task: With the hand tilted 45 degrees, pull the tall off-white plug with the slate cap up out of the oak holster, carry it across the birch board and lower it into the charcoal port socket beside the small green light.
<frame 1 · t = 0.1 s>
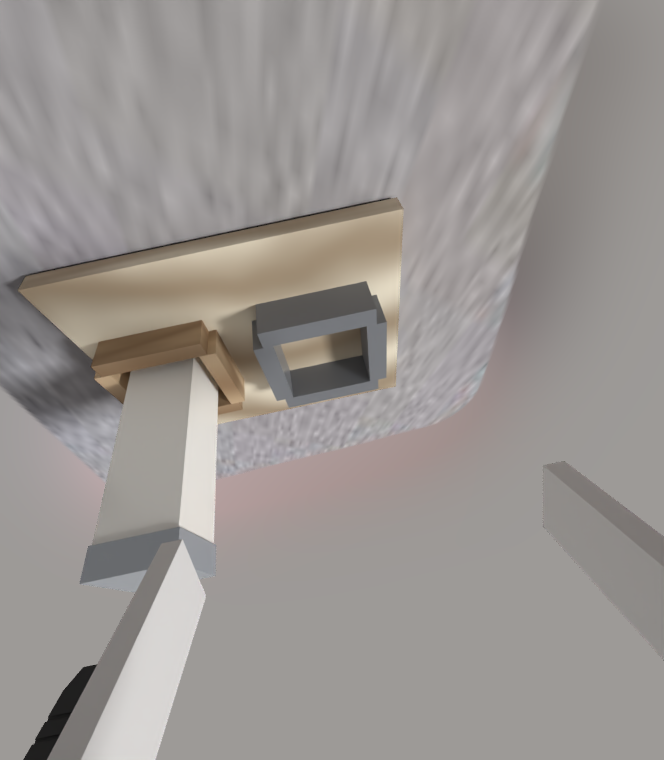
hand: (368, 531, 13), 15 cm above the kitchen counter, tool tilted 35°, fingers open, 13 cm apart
board: (256, 338, 25), on the kitchen counter
plug: (179, 367, 24), point 1 cm above the kitchen counter, touching board
port: (318, 325, 25), resting on board
holster: (180, 354, 25), resting on board
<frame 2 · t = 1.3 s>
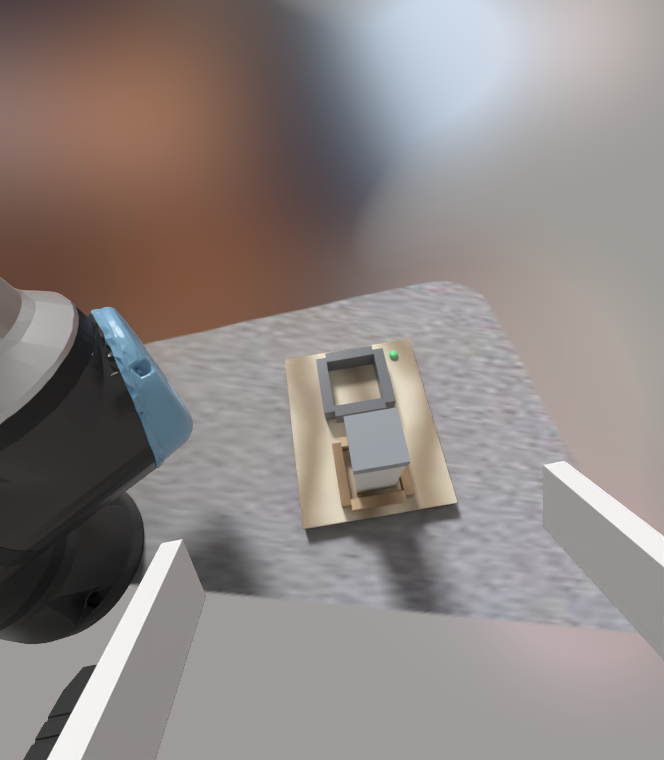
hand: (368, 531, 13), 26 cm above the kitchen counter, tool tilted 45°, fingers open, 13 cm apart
board: (361, 426, 41), on the kitchen counter
plug: (371, 471, 38), point 1 cm above the kitchen counter, touching board
port: (354, 392, 43), resting on board
holster: (371, 473, 39), resting on board
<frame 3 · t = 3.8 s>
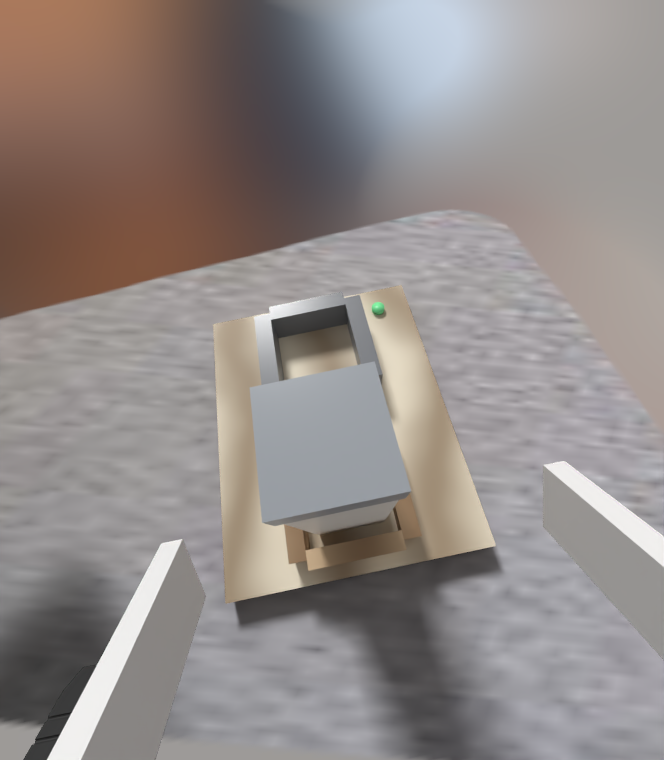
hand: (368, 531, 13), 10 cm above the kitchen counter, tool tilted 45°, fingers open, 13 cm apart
board: (330, 421, 26), on the kitchen counter
plug: (345, 495, 22), point 1 cm above the kitchen counter, touching board
port: (320, 368, 28), resting on board
holster: (346, 497, 23), resting on board
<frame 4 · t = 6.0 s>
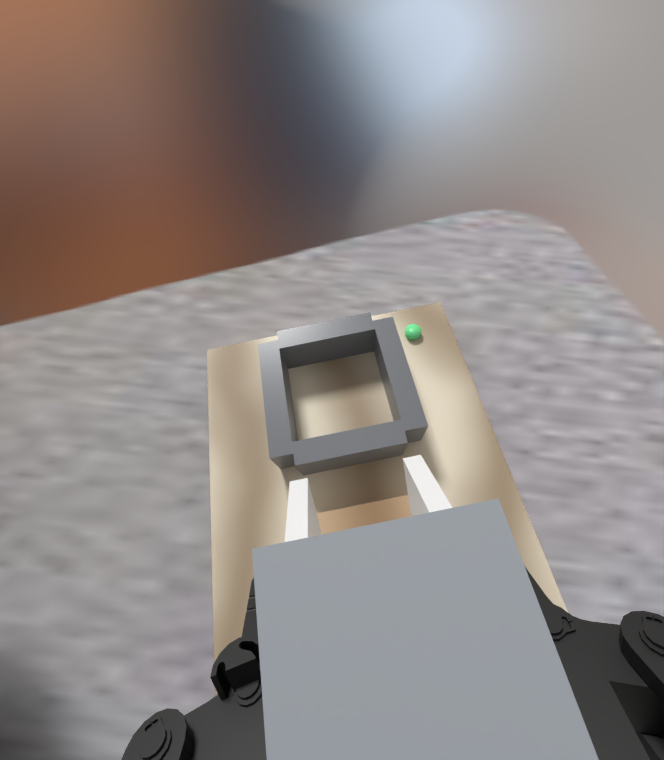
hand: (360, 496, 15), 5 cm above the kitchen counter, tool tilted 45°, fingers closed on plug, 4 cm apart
board: (355, 478, 20), on the kitchen counter
plug: (379, 590, 17), point 1 cm above the kitchen counter, touching board, gripper
port: (340, 407, 22), resting on board
holster: (378, 588, 18), resting on board
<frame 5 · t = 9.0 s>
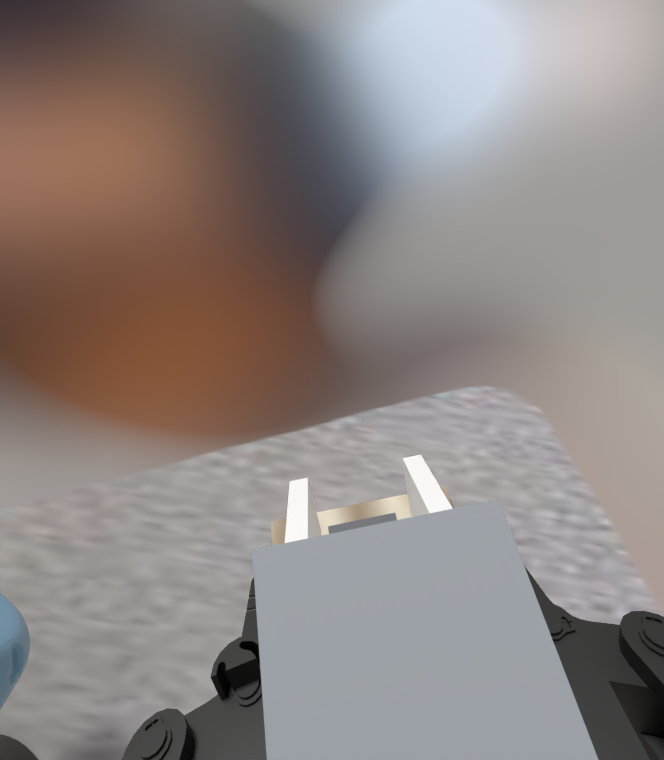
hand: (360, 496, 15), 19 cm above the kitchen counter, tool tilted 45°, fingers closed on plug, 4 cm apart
board: (385, 635, 28), on the kitchen counter
plug: (379, 591, 16), point 15 cm above the kitchen counter, touching gripper
port: (372, 572, 30), resting on board
when the fingers open (6 cm above the kitchen counter, at t = 12.3 s): plug stays where it is, resting on board.
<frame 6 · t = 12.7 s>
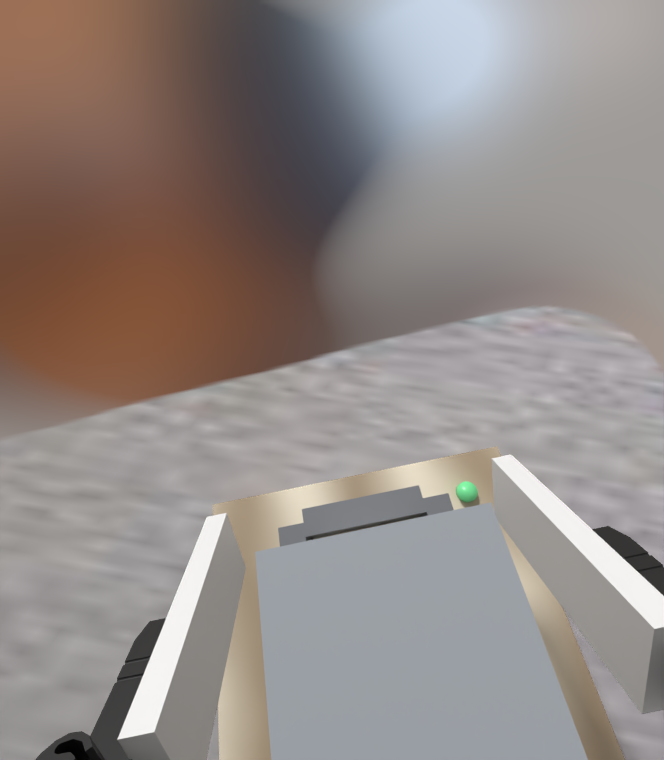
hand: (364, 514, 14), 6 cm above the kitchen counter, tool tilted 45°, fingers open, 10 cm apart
board: (402, 700, 16), on the kitchen counter
plug: (378, 590, 17), point 1 cm above the kitchen counter, touching board
port: (378, 587, 18), resting on board
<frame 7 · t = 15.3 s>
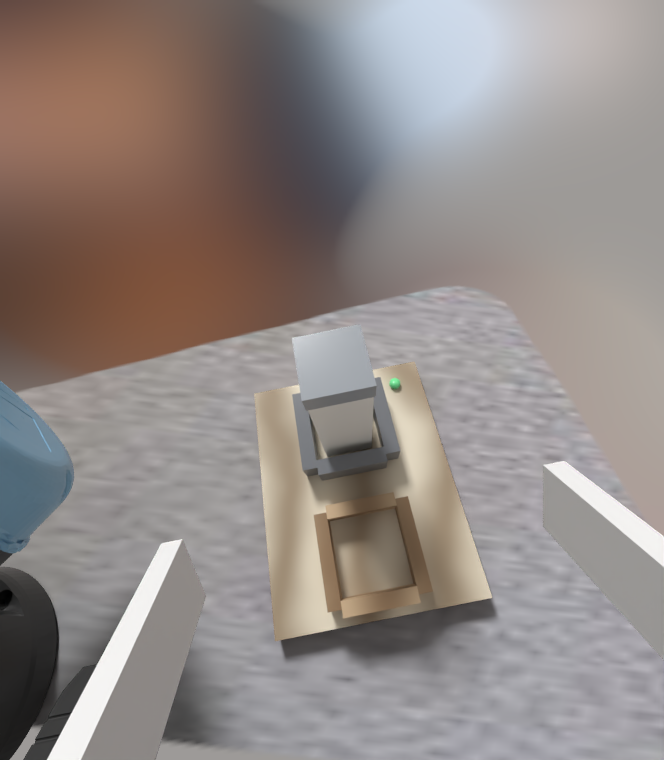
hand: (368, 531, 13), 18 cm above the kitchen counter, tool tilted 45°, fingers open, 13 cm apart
board: (355, 482, 31), on the kitchen counter
plug: (344, 430, 32), point 1 cm above the kitchen counter, touching board
port: (345, 434, 33), resting on board
holster: (369, 551, 28), resting on board
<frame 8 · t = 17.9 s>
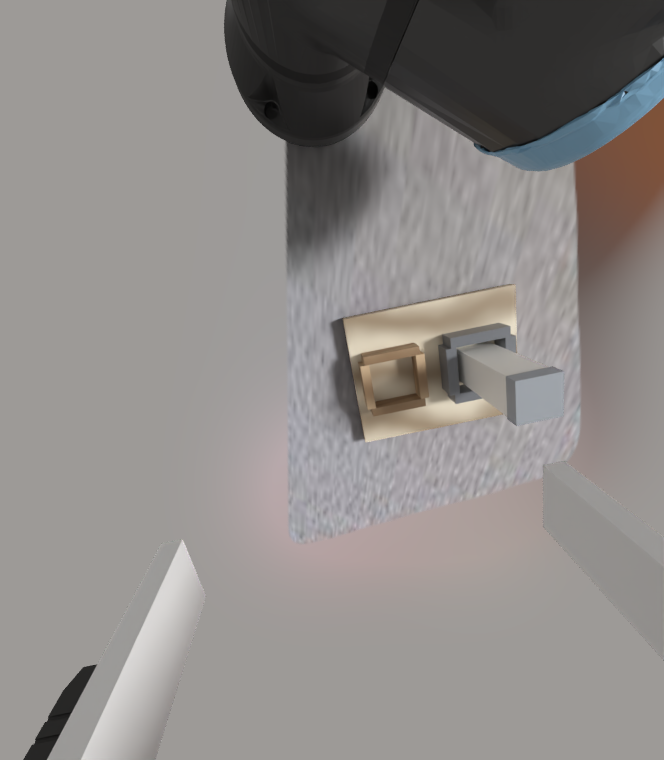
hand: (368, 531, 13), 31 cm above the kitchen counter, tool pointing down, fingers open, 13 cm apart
board: (432, 365, 43), on the kitchen counter
plug: (472, 360, 42), point 1 cm above the kitchen counter, touching board
port: (468, 358, 43), resting on board
holster: (389, 374, 43), resting on board
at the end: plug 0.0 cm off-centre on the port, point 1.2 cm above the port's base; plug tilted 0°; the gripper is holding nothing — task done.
